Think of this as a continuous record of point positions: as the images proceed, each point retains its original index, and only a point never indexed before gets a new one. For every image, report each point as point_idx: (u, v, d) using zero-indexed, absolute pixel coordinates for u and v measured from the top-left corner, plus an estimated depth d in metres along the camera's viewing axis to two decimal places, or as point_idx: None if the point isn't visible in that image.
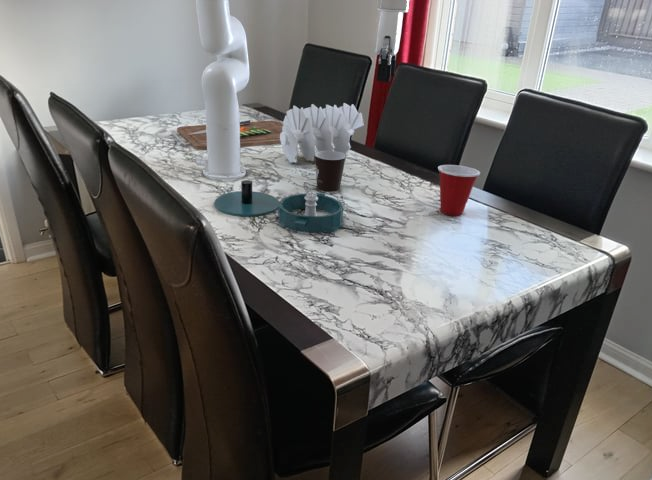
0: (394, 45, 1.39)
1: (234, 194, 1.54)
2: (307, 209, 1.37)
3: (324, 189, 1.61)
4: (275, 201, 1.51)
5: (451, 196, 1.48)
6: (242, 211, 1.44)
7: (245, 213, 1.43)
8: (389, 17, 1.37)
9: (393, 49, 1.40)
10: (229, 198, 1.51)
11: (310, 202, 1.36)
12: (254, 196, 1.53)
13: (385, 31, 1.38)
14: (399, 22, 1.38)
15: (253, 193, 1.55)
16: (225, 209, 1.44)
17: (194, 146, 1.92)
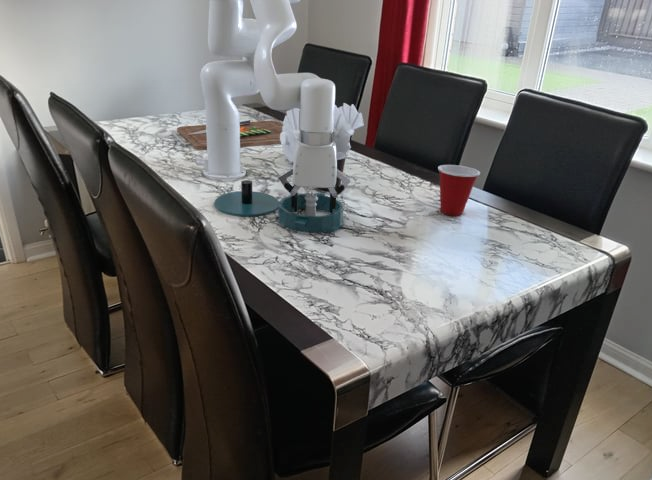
0: (293, 175, 1.32)
1: (234, 194, 1.54)
2: (307, 209, 1.37)
3: (324, 189, 1.61)
4: (275, 201, 1.51)
5: (451, 196, 1.48)
6: (242, 211, 1.44)
7: (245, 213, 1.43)
8: (295, 147, 1.31)
9: (293, 179, 1.32)
10: (229, 198, 1.51)
11: (310, 202, 1.36)
12: (254, 196, 1.53)
13: None
14: (302, 155, 1.29)
15: (253, 193, 1.55)
16: (225, 209, 1.44)
17: (194, 146, 1.92)
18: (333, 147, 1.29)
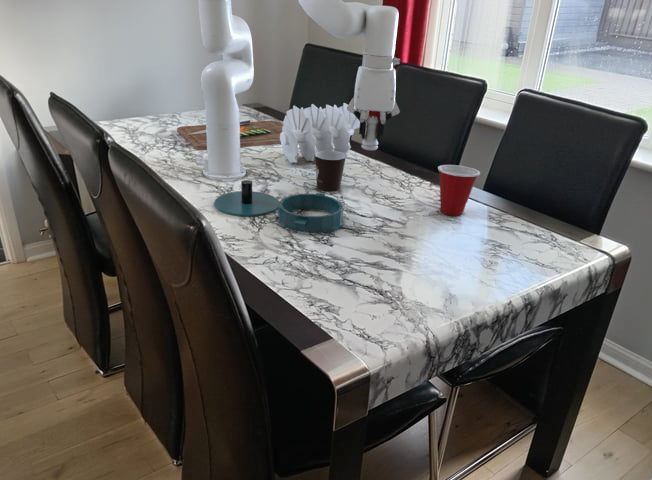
0: (355, 98, 1.42)
1: (234, 194, 1.54)
2: (368, 131, 1.47)
3: (324, 189, 1.61)
4: (275, 201, 1.51)
5: (451, 196, 1.48)
6: (242, 211, 1.44)
7: (245, 213, 1.43)
8: (358, 72, 1.41)
9: (355, 102, 1.43)
10: (229, 198, 1.51)
11: (372, 124, 1.46)
12: (254, 196, 1.53)
13: (355, 84, 1.43)
14: (365, 78, 1.39)
15: (253, 193, 1.55)
16: (225, 209, 1.44)
17: (194, 146, 1.92)
18: (393, 71, 1.39)
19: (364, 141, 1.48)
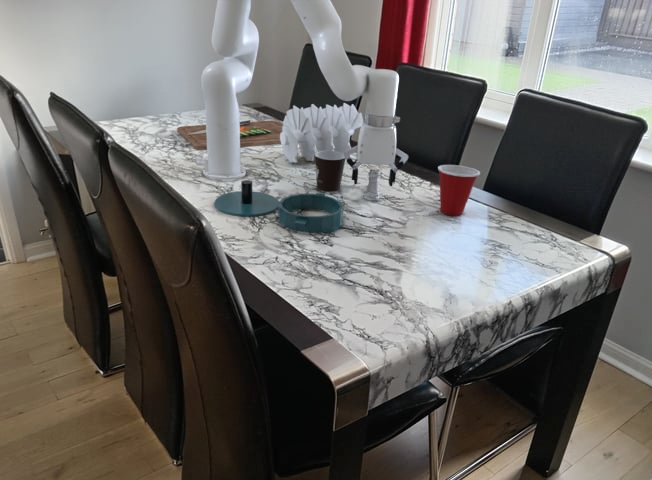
0: (358, 153, 1.52)
1: (234, 194, 1.54)
2: (370, 184, 1.57)
3: (324, 189, 1.61)
4: (275, 201, 1.51)
5: (451, 196, 1.48)
6: (242, 211, 1.44)
7: (245, 213, 1.43)
8: (360, 129, 1.50)
9: (358, 157, 1.52)
10: (229, 198, 1.51)
11: (374, 177, 1.56)
12: (254, 196, 1.53)
13: (358, 140, 1.53)
14: (367, 136, 1.49)
15: (253, 193, 1.55)
16: (225, 209, 1.44)
17: (194, 146, 1.92)
18: (394, 129, 1.49)
19: (366, 192, 1.58)
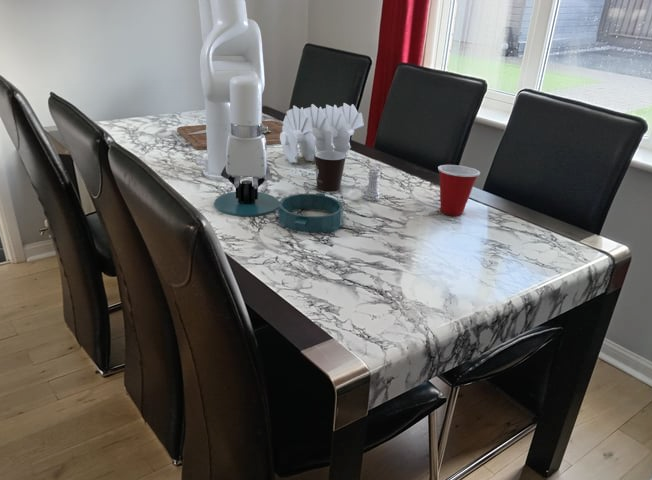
0: (226, 165, 1.43)
1: (234, 194, 1.54)
2: (370, 184, 1.57)
3: (324, 189, 1.61)
4: (275, 201, 1.51)
5: (451, 196, 1.48)
6: (242, 211, 1.44)
7: (245, 213, 1.43)
8: (227, 139, 1.41)
9: (226, 169, 1.43)
10: (229, 198, 1.51)
11: (374, 177, 1.56)
12: None
13: None
14: (233, 146, 1.40)
15: None
16: (225, 209, 1.44)
17: (194, 146, 1.92)
18: (261, 139, 1.39)
19: (366, 192, 1.58)
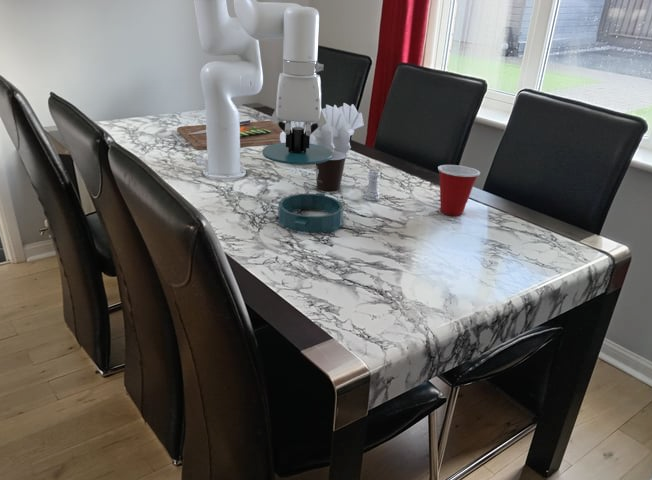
0: (277, 108, 1.30)
1: (282, 145, 1.41)
2: (370, 184, 1.57)
3: (324, 189, 1.61)
4: (328, 151, 1.38)
5: (451, 196, 1.48)
6: (294, 159, 1.31)
7: (298, 161, 1.30)
8: None
9: (276, 113, 1.30)
10: (277, 148, 1.38)
11: (374, 177, 1.56)
12: None
13: None
14: (285, 86, 1.27)
15: None
16: (275, 157, 1.31)
17: (194, 146, 1.92)
18: (317, 78, 1.27)
19: (366, 192, 1.58)
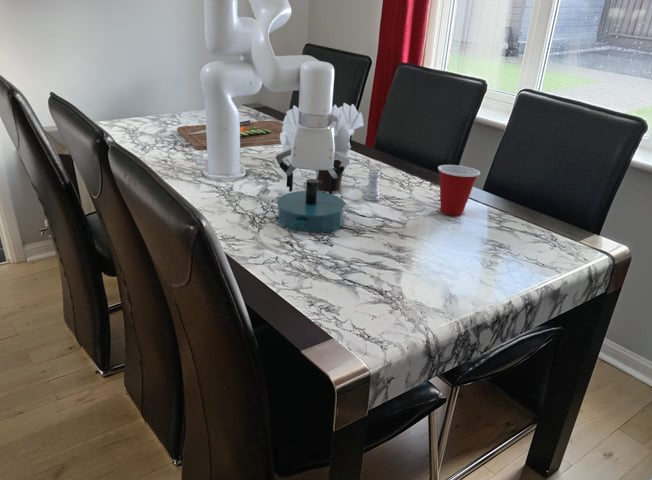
0: (291, 157, 1.33)
1: (296, 194, 1.45)
2: (370, 184, 1.57)
3: (324, 189, 1.61)
4: (340, 201, 1.42)
5: (451, 196, 1.48)
6: (309, 212, 1.35)
7: (312, 214, 1.34)
8: (294, 129, 1.32)
9: (291, 161, 1.34)
10: (291, 198, 1.42)
11: (374, 177, 1.56)
12: (317, 196, 1.45)
13: None
14: (300, 137, 1.31)
15: None
16: (290, 210, 1.36)
17: (194, 146, 1.92)
18: (331, 130, 1.30)
19: (366, 192, 1.58)
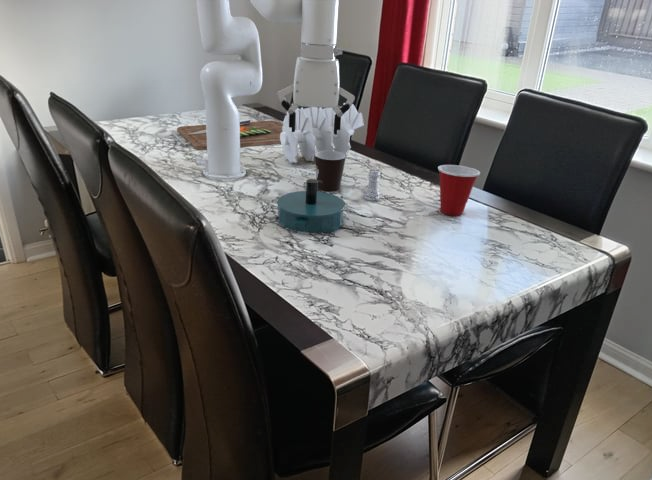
0: (294, 93, 1.26)
1: (296, 194, 1.45)
2: (370, 184, 1.57)
3: (324, 189, 1.61)
4: (340, 201, 1.42)
5: (451, 196, 1.48)
6: (309, 212, 1.35)
7: (312, 214, 1.34)
8: (296, 63, 1.25)
9: (294, 98, 1.27)
10: (291, 198, 1.42)
11: (374, 177, 1.56)
12: (317, 196, 1.45)
13: None
14: (303, 70, 1.24)
15: None
16: (290, 210, 1.36)
17: (194, 146, 1.92)
18: (336, 62, 1.23)
19: (366, 192, 1.58)
